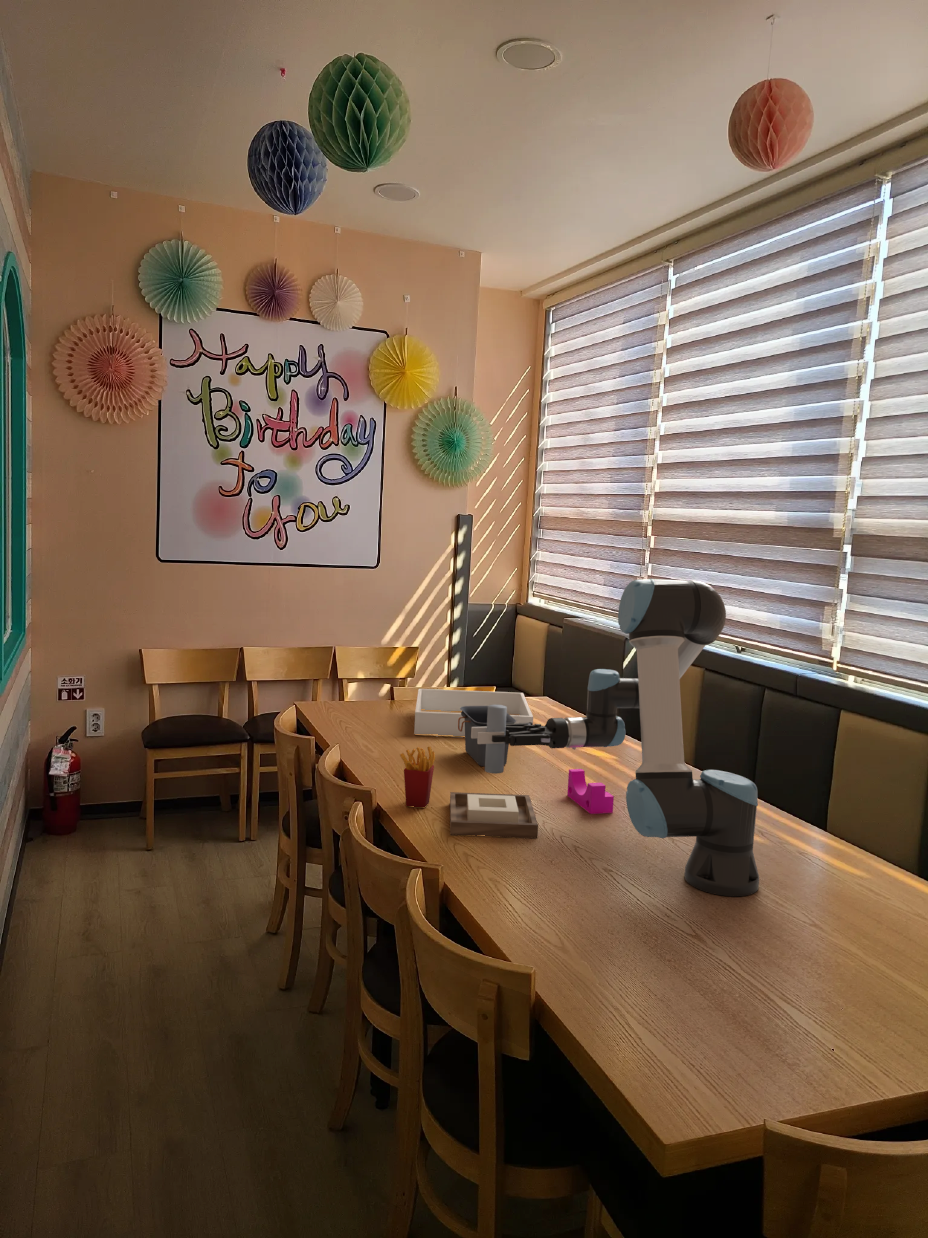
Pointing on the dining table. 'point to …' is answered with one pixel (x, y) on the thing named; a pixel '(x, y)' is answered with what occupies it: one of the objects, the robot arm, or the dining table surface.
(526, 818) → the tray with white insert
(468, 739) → the storage bin
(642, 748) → the robot arm
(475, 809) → the bore block
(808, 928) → the dining table surface
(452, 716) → the white shallow tray
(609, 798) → the toy block
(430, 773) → the french fries
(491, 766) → the peg
